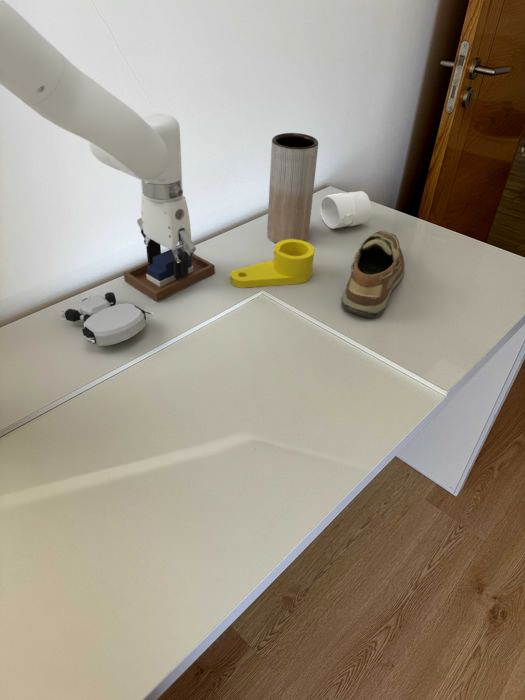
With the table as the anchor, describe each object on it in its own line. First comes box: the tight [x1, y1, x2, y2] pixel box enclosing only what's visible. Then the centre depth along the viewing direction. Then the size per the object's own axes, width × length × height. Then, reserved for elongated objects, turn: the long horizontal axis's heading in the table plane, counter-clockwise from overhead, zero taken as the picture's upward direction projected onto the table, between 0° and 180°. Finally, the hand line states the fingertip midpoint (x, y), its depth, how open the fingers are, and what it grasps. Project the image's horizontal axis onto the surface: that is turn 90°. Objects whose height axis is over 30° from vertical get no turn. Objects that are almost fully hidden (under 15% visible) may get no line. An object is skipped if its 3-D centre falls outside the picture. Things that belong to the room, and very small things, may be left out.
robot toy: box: [58, 290, 155, 347], centre depth 96 cm, size 12×4×15 cm
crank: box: [230, 239, 315, 289], centre depth 111 cm, size 18×8×6 cm, turn 110°
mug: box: [320, 190, 372, 230], centre depth 132 cm, size 12×9×8 cm
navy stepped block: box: [146, 248, 193, 287], centre depth 109 cm, size 9×4×4 cm, turn 137°
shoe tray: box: [123, 253, 216, 303], centre depth 110 cm, size 16×11×2 cm
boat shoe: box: [341, 230, 405, 319], centre depth 109 cm, size 11×29×11 cm, turn 162°
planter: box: [266, 132, 319, 244], centre depth 120 cm, size 10×10×23 cm
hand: (167, 268), depth 109 cm, fingers open, 8 cm apart
